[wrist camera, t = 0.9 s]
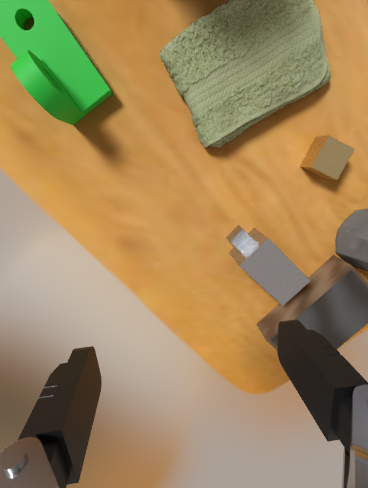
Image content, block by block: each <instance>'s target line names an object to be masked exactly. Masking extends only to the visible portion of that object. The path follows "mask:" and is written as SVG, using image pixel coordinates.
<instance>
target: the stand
mask: <svg viewBox="0 0 368 488" xmlns="http://www.w3.org/2000/svg"><path fill="white" fill-rule="evenodd" d="M308 279H309V280H310V282H309V283H308V284H307V285H305V286H304V287H303V288H302V289H301V290H300V291H299V292H298V293H297V294H295V295H294V296H293V297H292V298H291V299H290V300H289V301H288V302H287V303H285V304H284V305H283V306H282V305H281V304H279V305H278V306H277V307H275V308H274V309H273V310H272V311H271V312H270V313H269V314H268V315H267V316H265V317H264V318H263V319H262V320H261V321H260V322H259V323H258V324H257V326H258V327H259V329H260V331H261V332H262V334H263V336H264V337H265V339H266V341H267V342H269V343H270V344H271V345H272V346H273V347H275V348H276V349H277V348H278V324H279V322H280V321H287V320H294V319H297V320H299V321H300V322H301V323H302V324H303V325H304V327H305V328H306V329H307V330H314V331H316V332H317V333H319V334H321V335H322V336H324V337H325V338H326V339H327V340H328V341H329V342H330V343H331V344H332V345H333V348H334V347H335V349H337V348H338V347H340V346H341V345H342V344H343V343H344V342H346V341H347V340H348V339H349V338H350V337H352V336H353V335H354V334H355V333H357V332H358V331H359V330H360V329H361V328H363V327H364V326H365V325H366V324H367V323H368V283H367V282H366V281H365V280H364V279H363V277H362V276H361V275H360V274H359V273H358V272H357V271H356V269H355V268H354V267H353V266H352V265H350V264H348V263H347V262H345V261H343V260H341V259H339V258H337V257H336V256H334V255H333V256H332V257H331V258H330V259H329V260H328V261H326V262H325V263H324V264H323V265H322V266H321V267H320V268H319V269H318V270H316V271H315V272H314V273H313V274H312V275H311V276H310V277H309V278H308Z"/></svg>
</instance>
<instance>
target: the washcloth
mask: <svg viewBox="0 0 368 488" xmlns="http://www.w3.org/2000/svg"><path fill="white" fill-rule="evenodd" d="M160 51H161V54H160V58H161V60H162V62H164V66H165V67H166V68H167V71H168V72H170V77H171V78H172V80H173V81H174V83H175V85H176V89H177V91H178V92H179V95H181V96H183V97H184V99H185V102H186V104H187V106H188V108H189V110H190V111H191V114H192V120H193V123H194V126H195V127H196V131H197V133H198V137H199V140H200V142H201V144H202V145H203V146H204V148H206V147H209V146H212V147H217V148H220V147H222V146H223V145H224V144H226V142H231V140H232V139H234V138H236V137H237V136H238V135H239V134H242V132H243V131H245V130H246V129H247V128H249V127H251V126H252V125H254V124H257V122H258V121H261V119H262V120H263V119H264V118H265V117H267V116H270V115H271V114H272V113H274V112H276V111H277V110H278V109H281V108H284V107H285V105H287V104H289V103H292V102H296V101H298V100H299V99H300V98H304V97H305V96H307V95H308V94H311V93H312V92H313V91H314V90H317V89H319V88H321V87H322V86H324V85H325V84H327V83H328V82H329V80H330V77H331V73H330V67H329V64H328V61H327V56H326V51H325V45H324V39H323V32H322V26H321V20H320V13H319V11H318V9H317V7H316V6H315V4H314V1H313V0H229V1H228V2H227V3H226V4H222V5H221V6H218V7H217V8H216V9H214V10H213V11H212V12H211V14H208V15H207V16H203V17H201V18H199V19H198V20H197V22H195V21H194V22H193V23H192V24H191V25H190V26H189V28H186V29H185V30H184V31H183V32H181V33H180V34H179V35H178V36H177V37H176V38H173V40H172V41H171V42H170V43H168V44H167V45H165V46H164V49H163V50H160Z"/></svg>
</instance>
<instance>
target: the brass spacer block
mask: <svg viewBox="0 0 368 488" xmlns="http://www.w3.org/2000/svg"><path fill="white" fill-rule="evenodd" d="M354 150H355V149H353V148H351V147H349V146H348V145H346V144H344V143H342V142H340V141H338V140H336V139H335V138H333V137H331V136H329V135H328V136H321V137H315V139H314V140H313V142H312V144H311V146H310V148H309V150H308V152H307V154H306V156H305V158H304V160H303V161H302V163H301V165H300V167H302V168H304V169H306V170H308V171H310V172H312V173H314V174H316V175H318V176H320V177H322V178H324V179H333V180H338V178H339V176H340V174H341V173H342V171H343V169H344V167H345V165H346V164H347V162H348V160H349V158H350V157H351V155H352V153H353V151H354Z"/></svg>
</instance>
